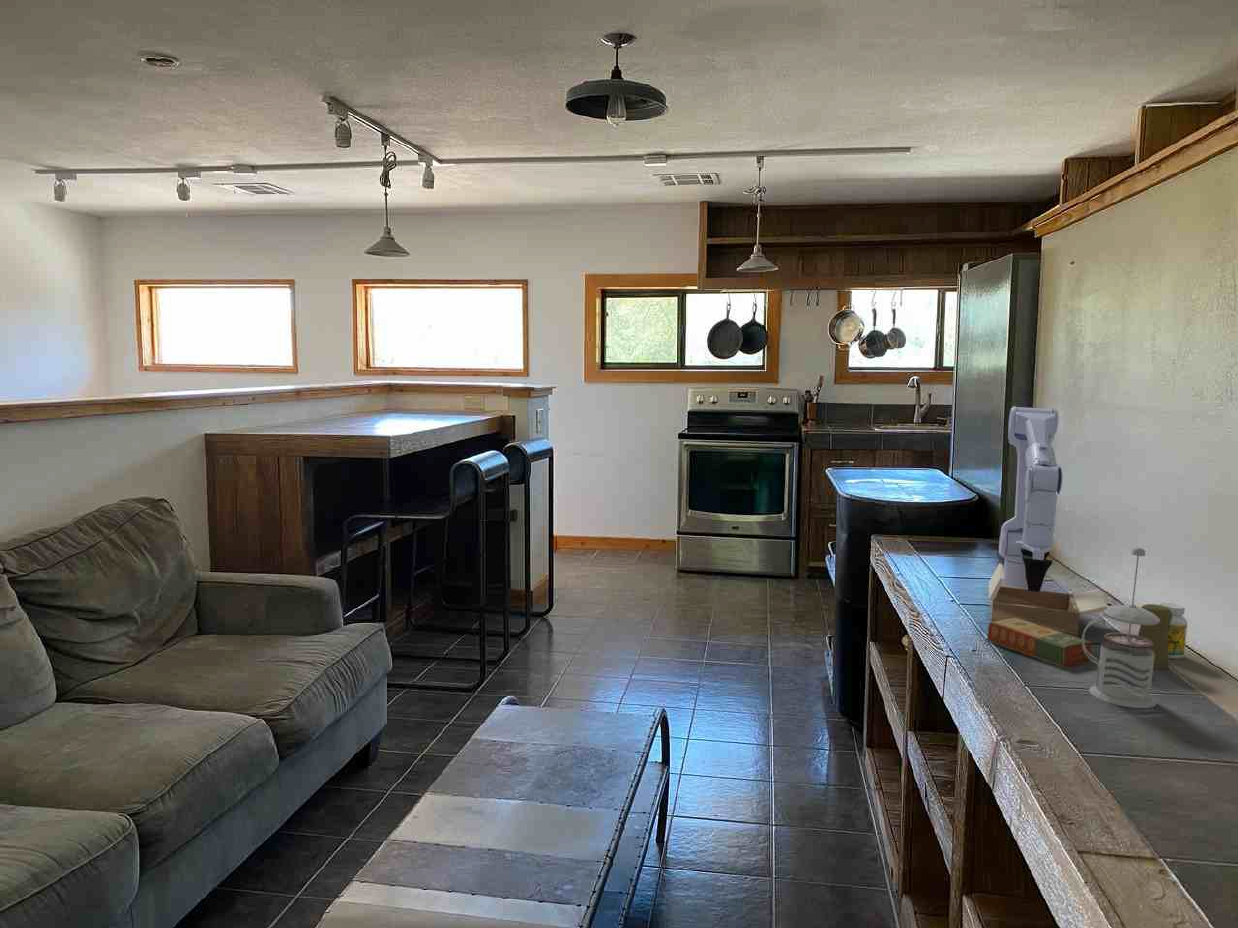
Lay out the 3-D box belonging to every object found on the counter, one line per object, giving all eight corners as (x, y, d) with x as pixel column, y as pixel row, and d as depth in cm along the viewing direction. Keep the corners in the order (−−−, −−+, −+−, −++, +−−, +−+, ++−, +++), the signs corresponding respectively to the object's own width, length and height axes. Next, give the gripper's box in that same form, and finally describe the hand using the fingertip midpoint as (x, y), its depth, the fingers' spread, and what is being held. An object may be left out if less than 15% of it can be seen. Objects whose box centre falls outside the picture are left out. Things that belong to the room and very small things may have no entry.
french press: (1155, 713, 142) (1174, 557, 139) (1073, 695, 148) (1089, 546, 145) (1157, 694, 150) (1175, 547, 147) (1079, 678, 156) (1095, 537, 153)
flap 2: (1098, 588, 191) (1099, 592, 191) (1073, 594, 193) (1074, 598, 193) (1106, 606, 178) (1108, 609, 178) (1079, 612, 180) (1081, 615, 180)
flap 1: (992, 584, 199) (988, 582, 199) (1002, 564, 198) (999, 563, 198) (993, 600, 185) (989, 599, 186) (1004, 579, 184) (1000, 577, 185)
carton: (1013, 637, 180) (1016, 616, 179) (1090, 662, 166) (1092, 640, 166) (986, 642, 176) (988, 620, 175) (1062, 669, 162) (1064, 646, 161)
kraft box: (990, 606, 200) (992, 584, 200) (1070, 616, 194) (1072, 594, 194) (990, 625, 186) (993, 602, 185) (1077, 637, 180) (1080, 613, 179)
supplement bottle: (1184, 654, 172) (1190, 605, 171) (1182, 661, 168) (1188, 611, 167) (1152, 647, 175) (1157, 599, 174) (1148, 654, 171) (1154, 605, 170)
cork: (1155, 671, 162) (1163, 611, 160) (1123, 660, 167) (1130, 602, 165) (1176, 667, 164) (1183, 608, 163) (1144, 656, 170) (1150, 599, 168)
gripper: (1016, 515, 196) (1011, 576, 197) (1019, 526, 182) (1013, 592, 184) (1052, 518, 193) (1046, 580, 195) (1058, 530, 180) (1051, 596, 181)
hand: (1032, 586), depth 189 cm, fingers open, 7 cm apart
